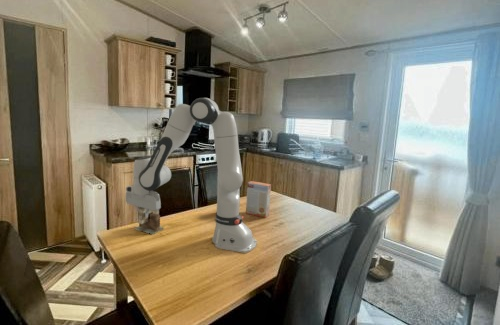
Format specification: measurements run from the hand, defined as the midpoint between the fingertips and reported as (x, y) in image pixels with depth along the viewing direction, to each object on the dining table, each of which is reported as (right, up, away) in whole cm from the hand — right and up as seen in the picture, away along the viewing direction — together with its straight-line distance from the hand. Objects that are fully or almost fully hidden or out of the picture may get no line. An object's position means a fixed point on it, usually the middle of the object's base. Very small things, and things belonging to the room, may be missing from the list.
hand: (143, 215), depth 137 cm
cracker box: (+59, -7, +36) cm, 69 cm away
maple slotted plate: (+1, -3, +4) cm, 6 cm away
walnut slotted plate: (+1, -9, +5) cm, 10 cm away
